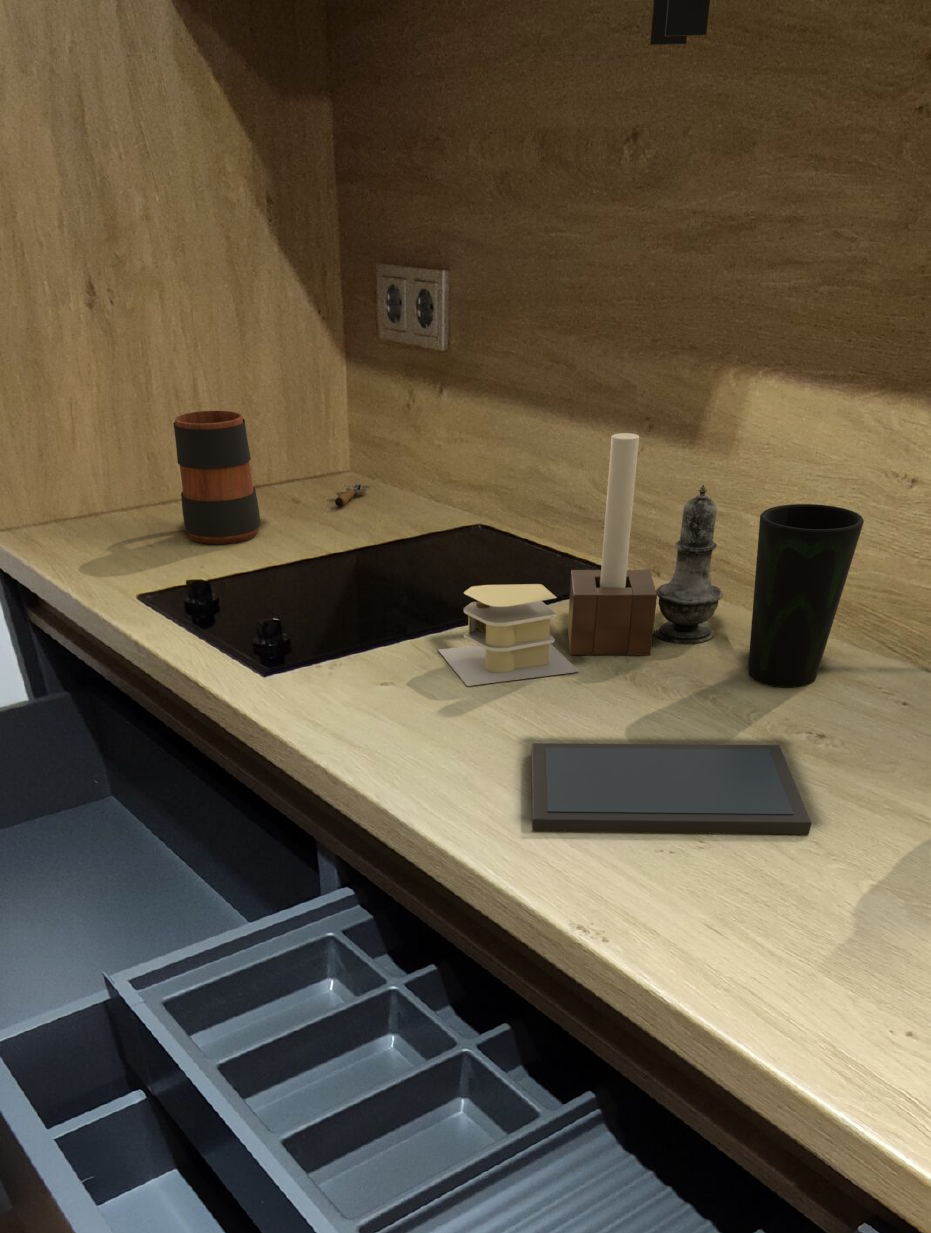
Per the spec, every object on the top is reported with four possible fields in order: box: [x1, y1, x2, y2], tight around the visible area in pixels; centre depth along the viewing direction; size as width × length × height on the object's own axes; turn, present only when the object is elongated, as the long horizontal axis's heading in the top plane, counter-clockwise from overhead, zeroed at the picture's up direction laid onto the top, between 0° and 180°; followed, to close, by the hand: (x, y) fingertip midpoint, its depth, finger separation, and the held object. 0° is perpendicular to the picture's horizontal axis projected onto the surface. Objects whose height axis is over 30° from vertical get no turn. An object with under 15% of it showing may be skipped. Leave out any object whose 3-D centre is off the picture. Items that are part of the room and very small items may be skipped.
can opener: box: [334, 482, 368, 508], centre depth 138 cm, size 9×2×1 cm, turn 160°
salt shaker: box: [654, 484, 724, 645], centre depth 96 cm, size 6×6×12 cm
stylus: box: [600, 432, 640, 588], centre depth 94 cm, size 2×2×16 cm
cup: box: [747, 503, 865, 688], centre depth 89 cm, size 8×8×12 cm
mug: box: [172, 410, 261, 545], centre depth 125 cm, size 9×12×12 cm
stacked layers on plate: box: [437, 583, 581, 687], centre depth 94 cm, size 10×9×6 cm
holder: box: [567, 569, 658, 656], centre depth 98 cm, size 7×7×5 cm
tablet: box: [530, 742, 812, 835], centre depth 77 cm, size 18×12×1 cm, turn 86°
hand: (675, 41), depth 80 cm, fingers open, 13 cm apart
